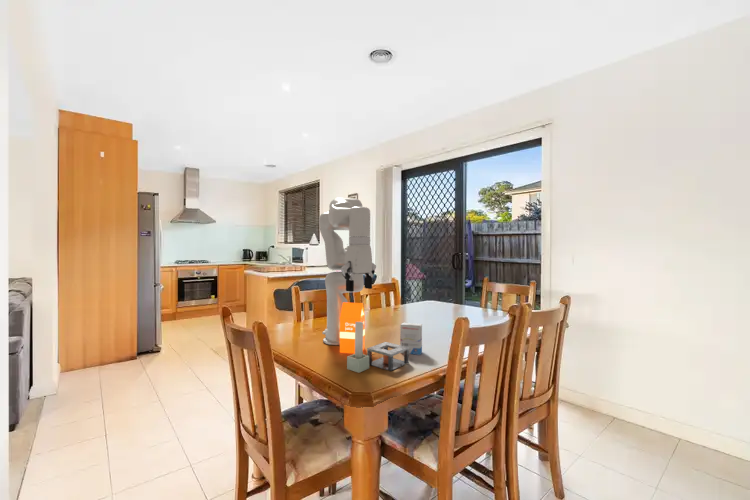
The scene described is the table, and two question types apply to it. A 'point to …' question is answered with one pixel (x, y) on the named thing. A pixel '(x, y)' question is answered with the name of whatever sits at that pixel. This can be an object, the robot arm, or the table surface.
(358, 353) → the grey rod
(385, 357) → the button
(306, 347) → the table surface
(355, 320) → the orange juice
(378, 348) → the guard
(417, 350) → the ink box
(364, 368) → the box
